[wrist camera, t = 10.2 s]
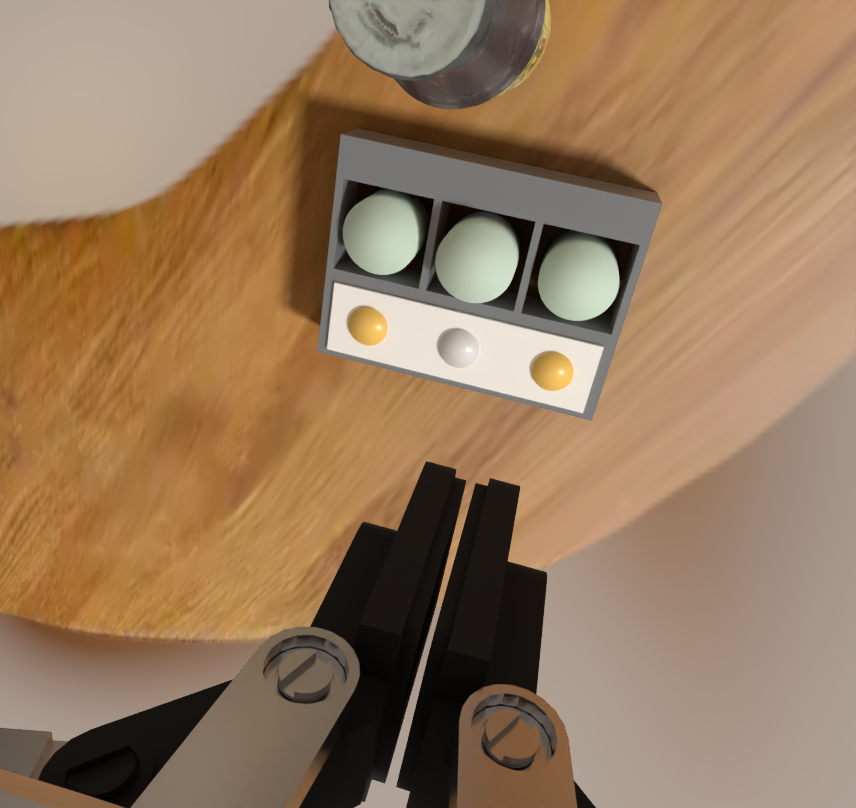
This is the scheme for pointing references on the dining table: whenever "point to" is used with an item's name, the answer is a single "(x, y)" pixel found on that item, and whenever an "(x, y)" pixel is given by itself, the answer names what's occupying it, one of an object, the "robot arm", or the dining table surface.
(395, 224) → the end button
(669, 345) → the dining table surface
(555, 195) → the button board
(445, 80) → the sauce bottle
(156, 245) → the dining table surface
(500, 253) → the middle button
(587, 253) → the end button
